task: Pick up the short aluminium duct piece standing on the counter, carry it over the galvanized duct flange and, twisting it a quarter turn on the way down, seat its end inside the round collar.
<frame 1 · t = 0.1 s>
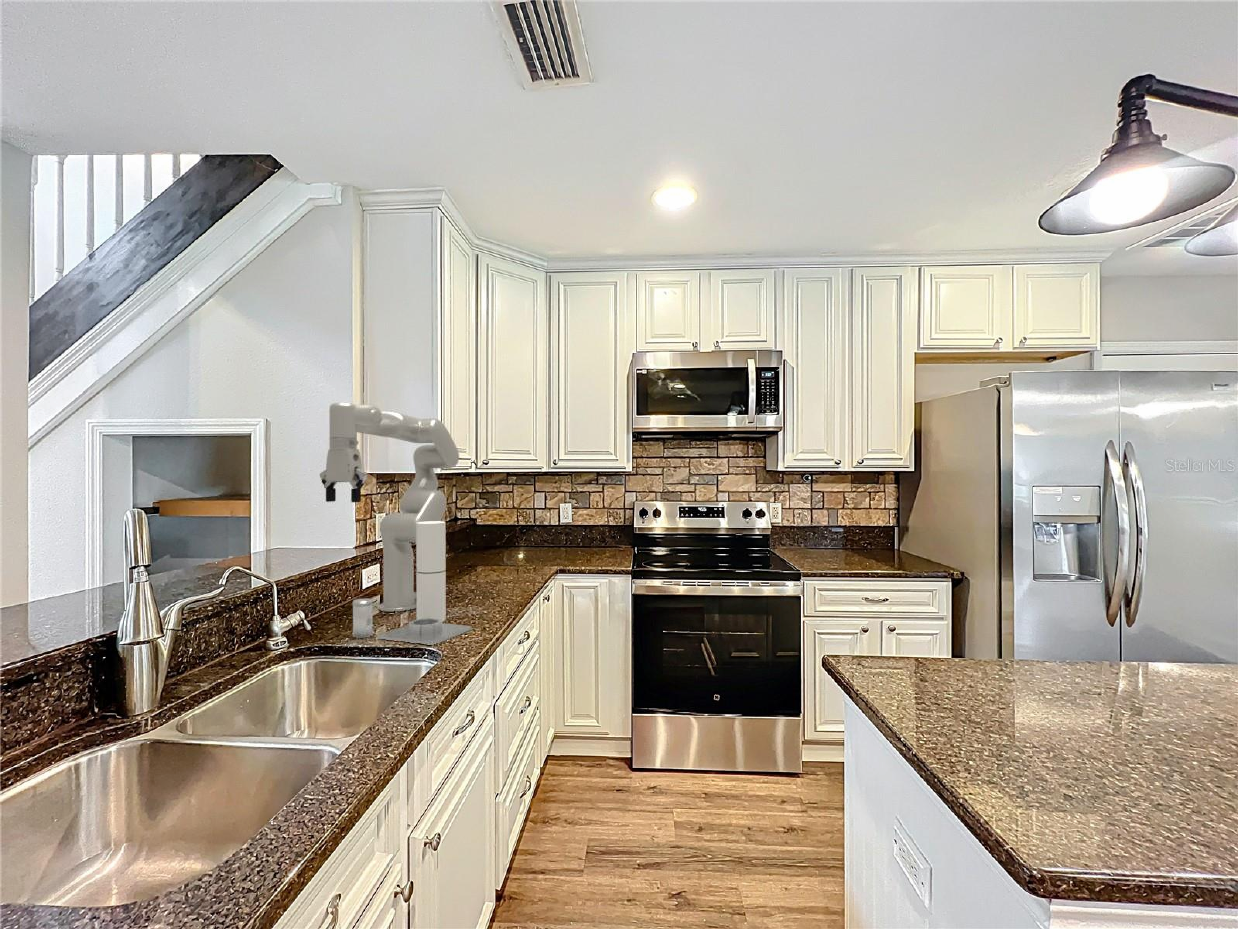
hand: (343, 501, 191), 37 cm above the countertop, tool pointing down, fingers open, 9 cm apart
container: (431, 621, 197), on the countertop
duct flange: (425, 634, 180), on the countertop
grey cylinder: (362, 636, 178), on the countertop
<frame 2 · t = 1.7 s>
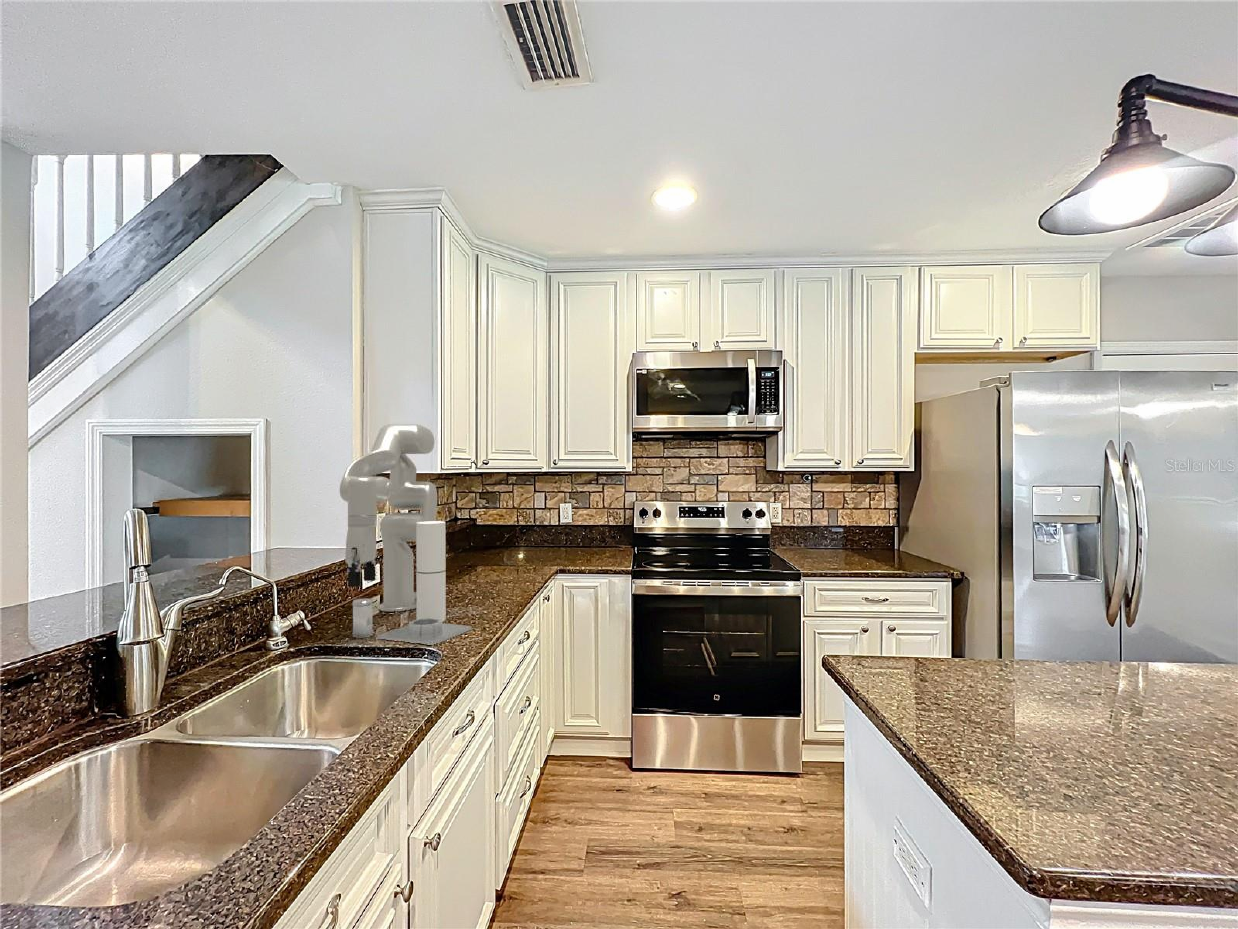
hand: (362, 583, 178), 15 cm above the countertop, tool pointing down, fingers open, 9 cm apart
nothing on the countertop moved.
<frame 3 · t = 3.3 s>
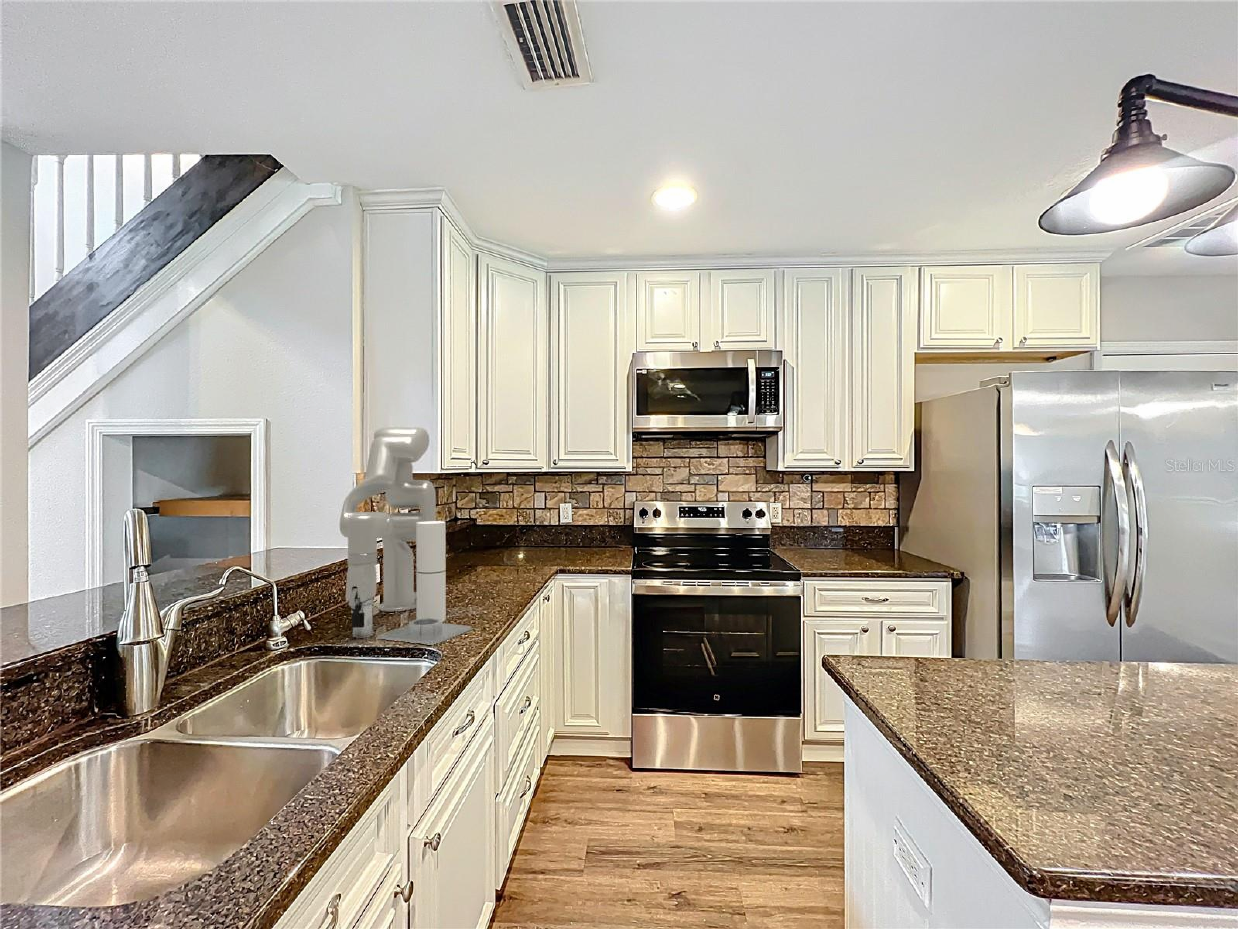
hand: (362, 624, 178), 3 cm above the countertop, tool pointing down, fingers closed on grey cylinder, 5 cm apart
grey cylinder: (362, 636, 178), on the countertop, touching gripper
everything else where it was.
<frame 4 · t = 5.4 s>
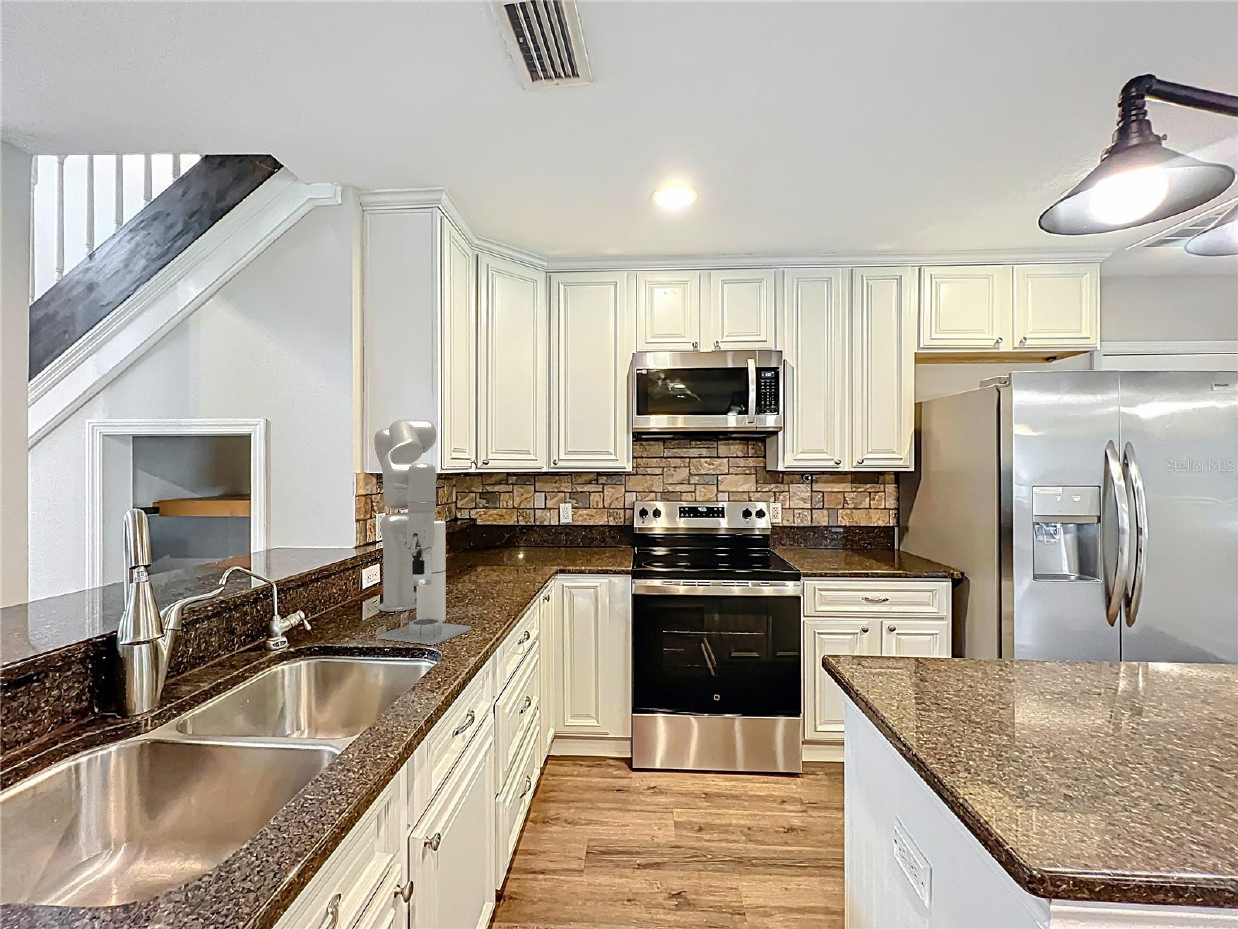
hand: (422, 572, 180), 18 cm above the countertop, tool pointing down, fingers closed on grey cylinder, 5 cm apart
grey cylinder: (422, 584, 180), point 14 cm above the countertop, touching gripper
everything else where it was.
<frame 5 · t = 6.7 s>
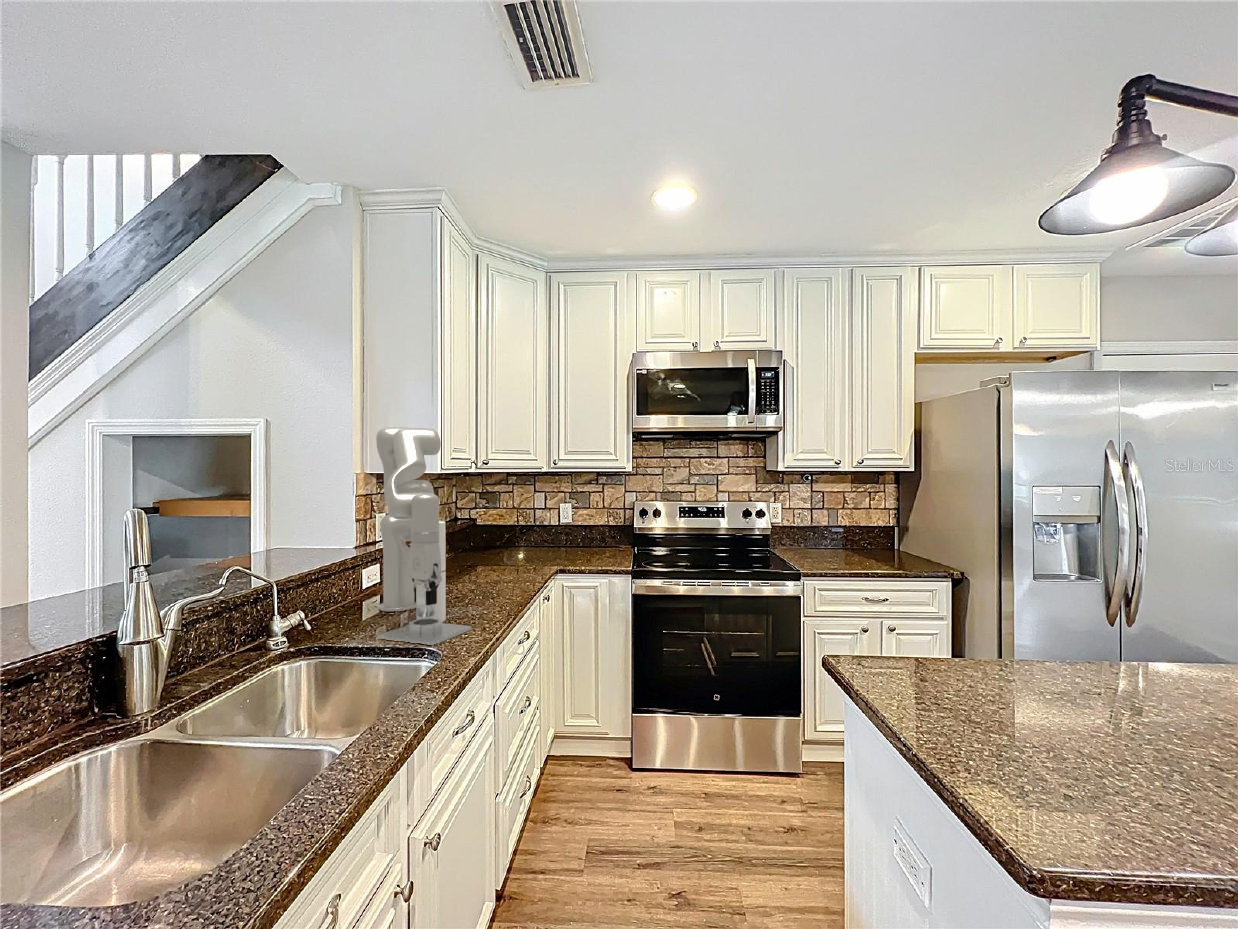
hand: (425, 602, 180), 9 cm above the countertop, tool pointing down, fingers closed on grey cylinder, 5 cm apart
grey cylinder: (425, 614, 180), point 6 cm above the countertop, touching gripper
everything else where it was.
when the fingers open (5 cm above the countertop, at t = 7.9 s): grey cylinder stays where it is, resting on duct flange.
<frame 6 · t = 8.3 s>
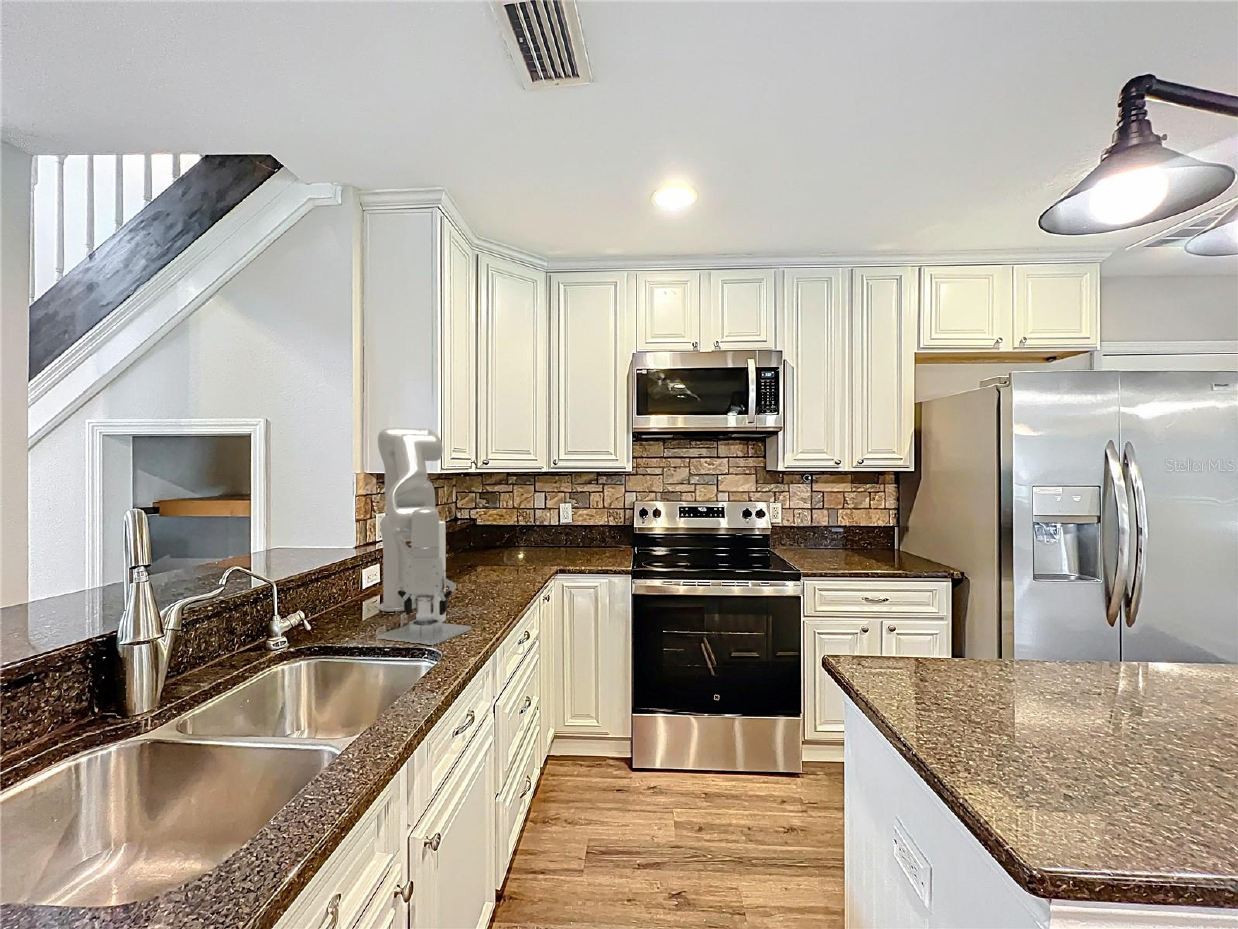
hand: (425, 613, 180), 6 cm above the countertop, tool pointing down, fingers open, 9 cm apart
grey cylinder: (425, 630, 180), point 1 cm above the countertop, touching duct flange
everything else where it was.
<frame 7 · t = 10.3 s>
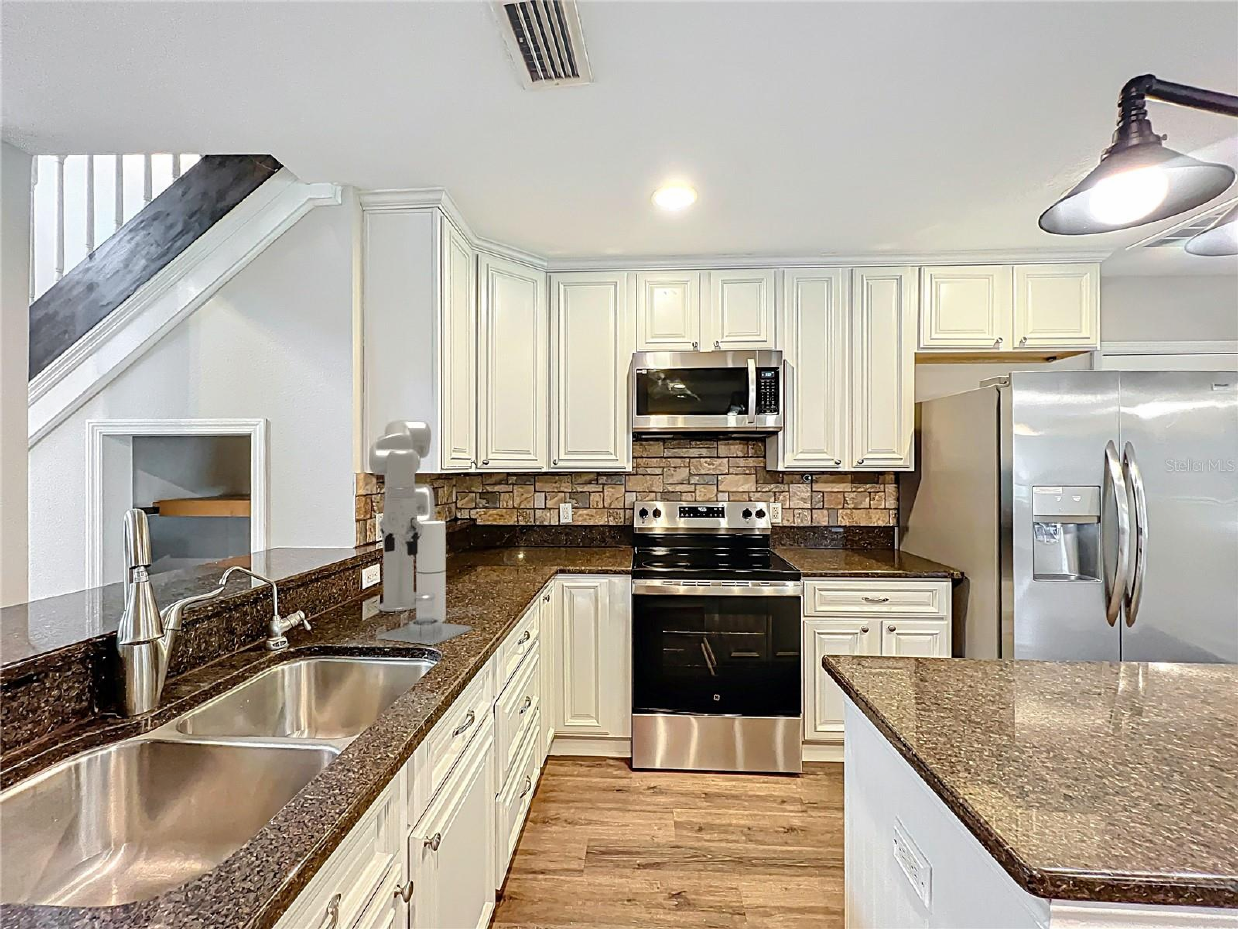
hand: (400, 553, 184), 22 cm above the countertop, tool pointing down, fingers open, 9 cm apart
nothing on the countertop moved.
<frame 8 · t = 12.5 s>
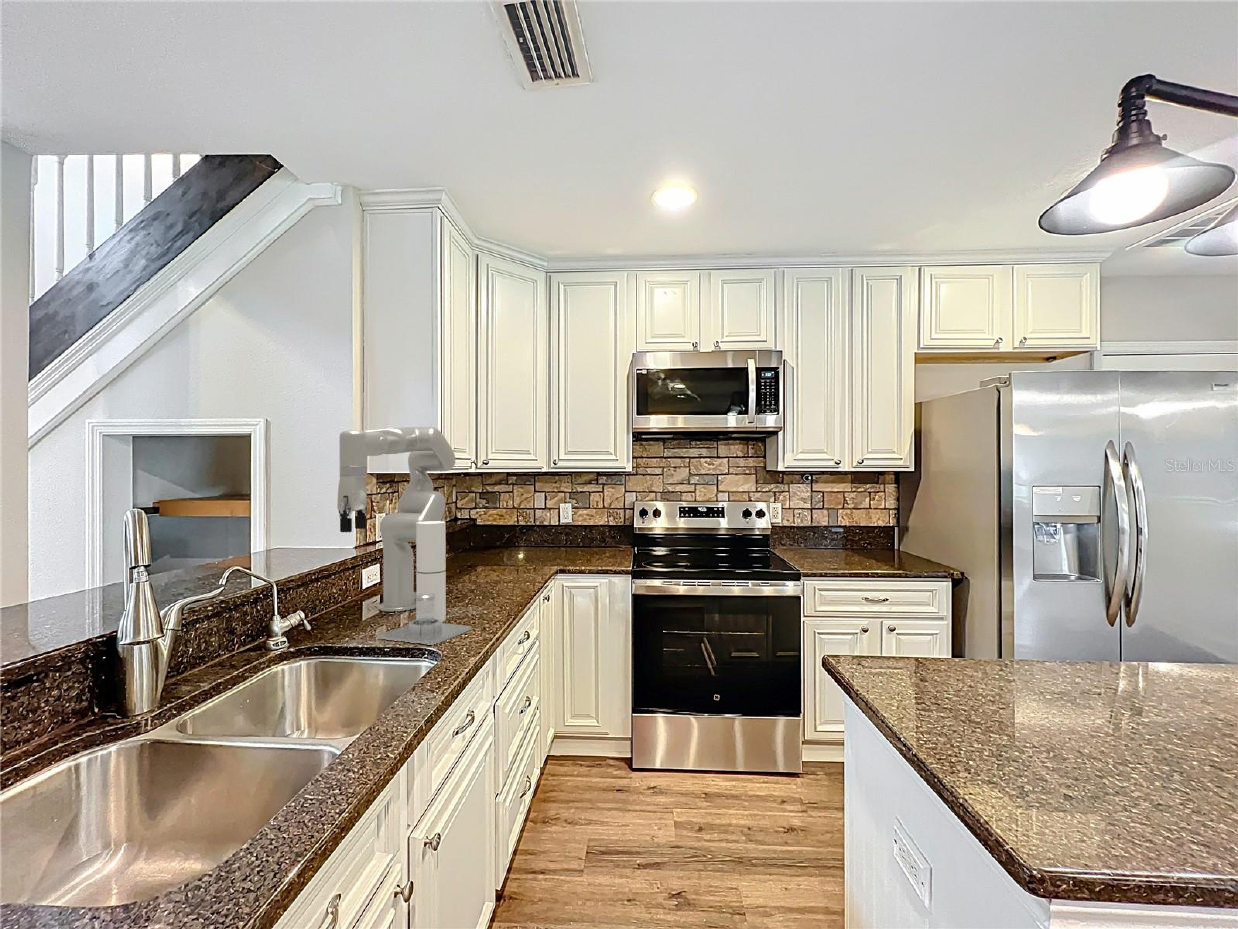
hand: (353, 530, 190), 28 cm above the countertop, tool pointing down, fingers open, 9 cm apart
nothing on the countertop moved.
at the end: grey cylinder 0.1 cm off-centre on the duct flange, point 1.0 cm above the duct flange's base; grey cylinder tilted 0°; the gripper is holding nothing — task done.
